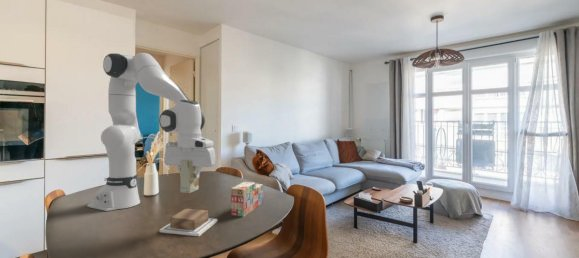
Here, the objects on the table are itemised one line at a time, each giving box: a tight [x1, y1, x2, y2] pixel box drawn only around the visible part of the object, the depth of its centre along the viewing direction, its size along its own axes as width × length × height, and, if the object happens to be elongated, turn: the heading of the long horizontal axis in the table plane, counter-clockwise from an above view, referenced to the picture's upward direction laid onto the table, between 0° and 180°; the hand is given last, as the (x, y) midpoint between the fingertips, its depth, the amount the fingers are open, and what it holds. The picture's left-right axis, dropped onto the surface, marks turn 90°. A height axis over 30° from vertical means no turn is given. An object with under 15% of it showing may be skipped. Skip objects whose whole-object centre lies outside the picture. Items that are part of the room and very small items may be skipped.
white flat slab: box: [159, 217, 218, 237], centre depth 101 cm, size 16×14×1 cm
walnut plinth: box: [169, 208, 209, 231], centre depth 101 cm, size 10×10×4 cm
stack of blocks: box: [230, 181, 264, 218], centre depth 122 cm, size 21×6×12 cm, turn 162°
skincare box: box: [179, 160, 200, 194], centre depth 101 cm, size 6×4×12 cm
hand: (189, 177), depth 101 cm, fingers closed on skincare box, 4 cm apart
